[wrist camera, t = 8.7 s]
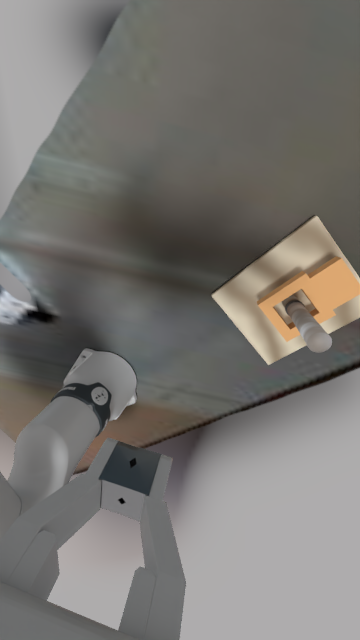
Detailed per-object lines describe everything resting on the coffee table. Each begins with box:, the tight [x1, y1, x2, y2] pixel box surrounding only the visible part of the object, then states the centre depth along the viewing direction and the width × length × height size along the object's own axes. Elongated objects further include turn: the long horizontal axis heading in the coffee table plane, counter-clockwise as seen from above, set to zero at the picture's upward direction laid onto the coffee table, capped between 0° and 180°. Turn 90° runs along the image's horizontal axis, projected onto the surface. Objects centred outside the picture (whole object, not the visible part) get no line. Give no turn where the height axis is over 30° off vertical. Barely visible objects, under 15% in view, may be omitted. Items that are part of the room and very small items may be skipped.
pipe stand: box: [212, 216, 360, 365], centre depth 32 cm, size 20×18×17 cm
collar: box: [257, 256, 360, 342], centre depth 34 cm, size 12×8×2 cm, turn 132°
